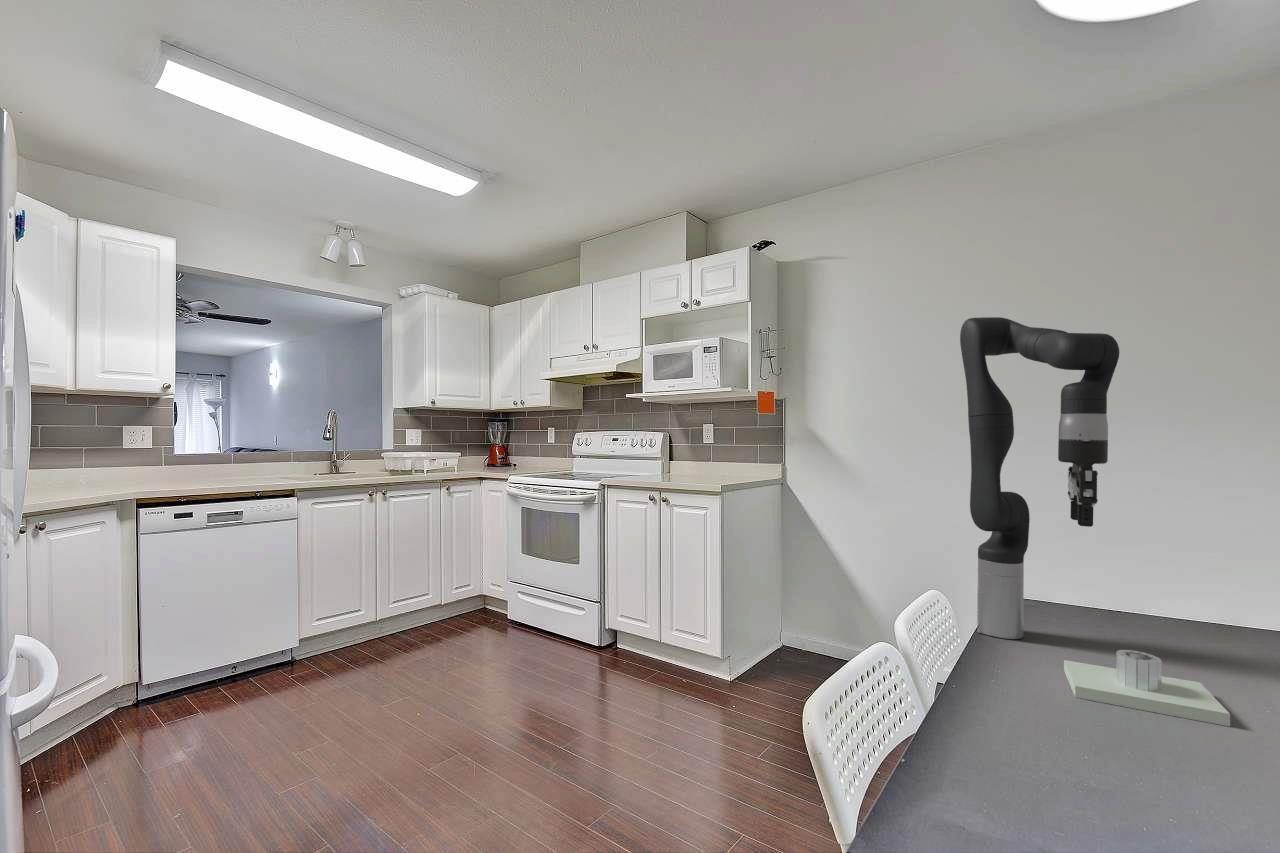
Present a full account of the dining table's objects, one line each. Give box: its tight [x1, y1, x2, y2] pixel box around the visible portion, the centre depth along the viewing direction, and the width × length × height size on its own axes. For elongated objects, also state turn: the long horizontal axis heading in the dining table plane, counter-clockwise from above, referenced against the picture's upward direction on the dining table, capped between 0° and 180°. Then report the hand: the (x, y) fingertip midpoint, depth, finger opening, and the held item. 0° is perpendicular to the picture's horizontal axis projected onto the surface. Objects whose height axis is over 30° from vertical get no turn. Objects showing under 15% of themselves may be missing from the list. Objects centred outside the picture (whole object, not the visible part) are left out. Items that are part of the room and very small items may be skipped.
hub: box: [1115, 649, 1163, 692], centre depth 104 cm, size 6×6×5 cm
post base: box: [1063, 654, 1231, 727], centre depth 104 cm, size 20×14×7 cm
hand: (1081, 522), depth 111 cm, fingers open, 8 cm apart
